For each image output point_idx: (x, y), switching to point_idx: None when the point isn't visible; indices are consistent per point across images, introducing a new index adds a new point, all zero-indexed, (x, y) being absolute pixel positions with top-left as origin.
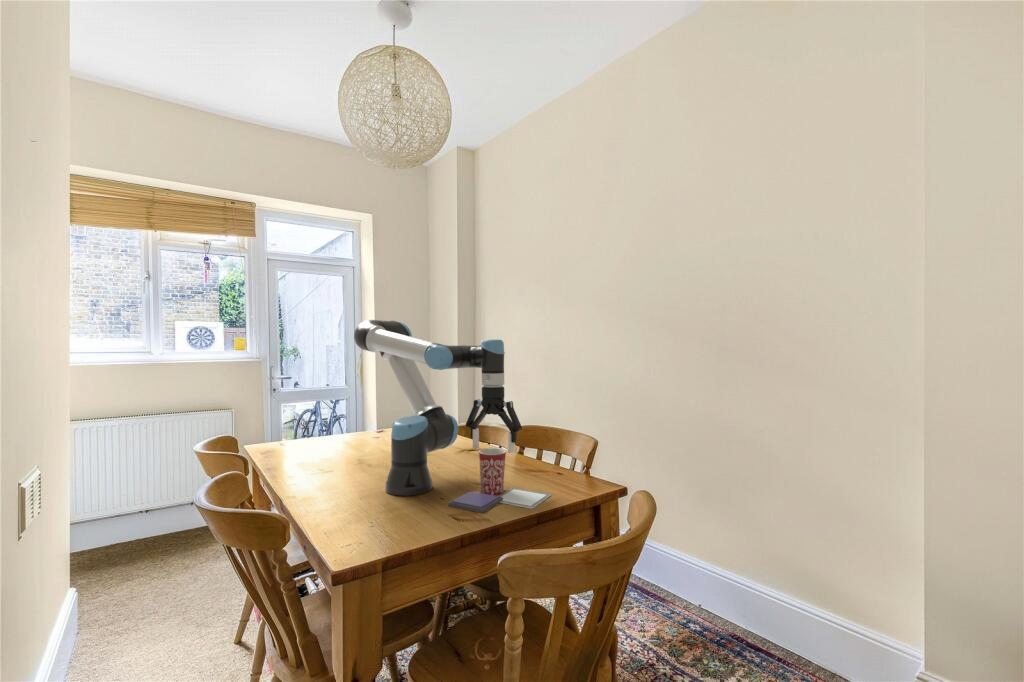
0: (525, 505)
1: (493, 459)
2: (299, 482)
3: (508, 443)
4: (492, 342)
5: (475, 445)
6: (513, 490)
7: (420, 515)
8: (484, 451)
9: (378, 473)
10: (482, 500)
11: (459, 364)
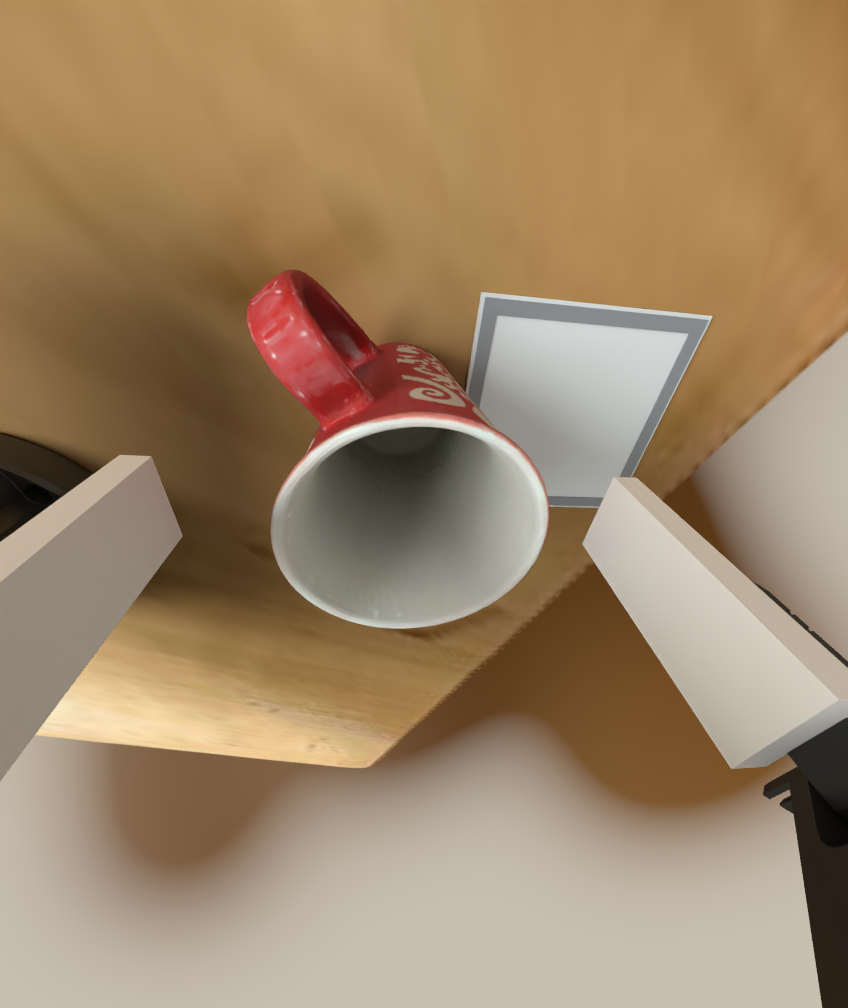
0: (590, 501)
1: (460, 580)
2: None
3: (634, 620)
4: None
5: (156, 549)
6: (500, 341)
7: (317, 652)
8: (298, 505)
9: None
10: None
11: None
